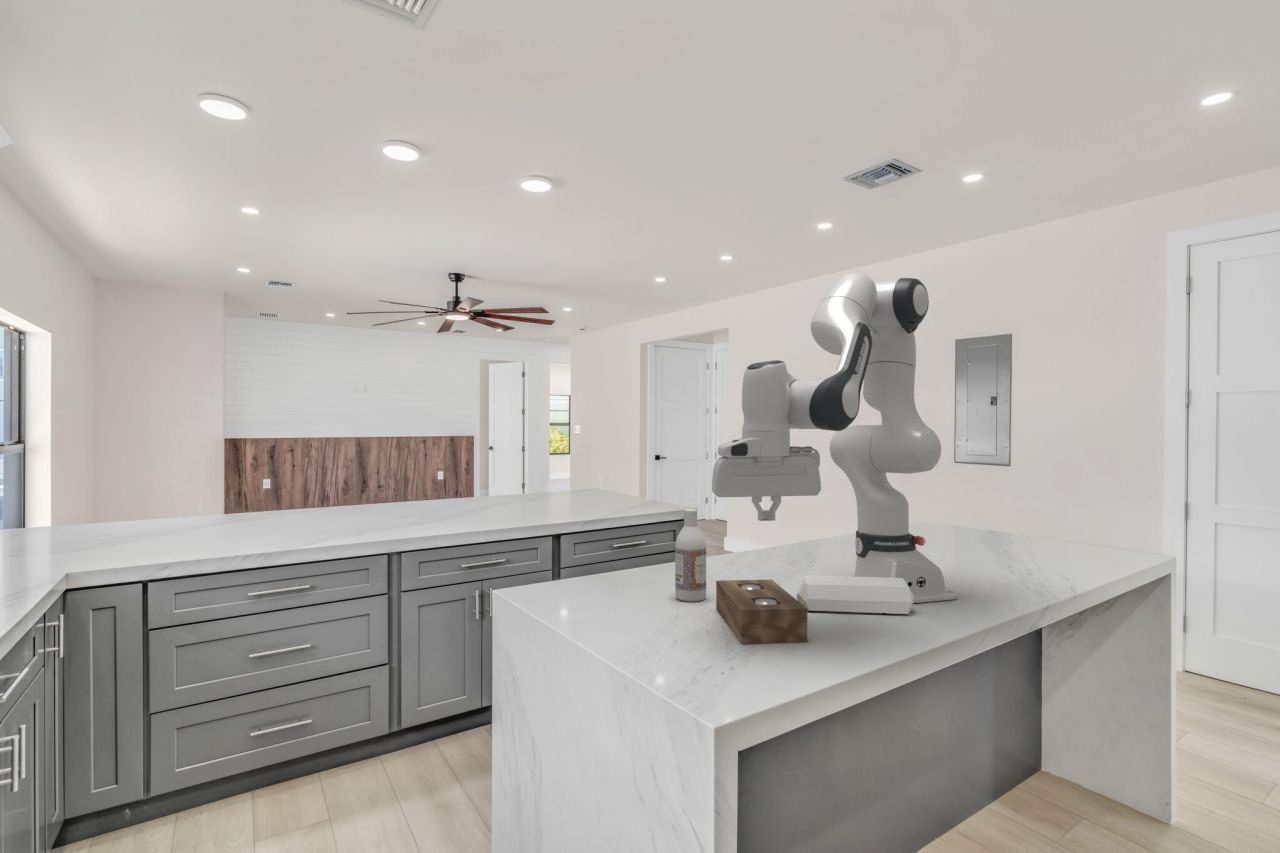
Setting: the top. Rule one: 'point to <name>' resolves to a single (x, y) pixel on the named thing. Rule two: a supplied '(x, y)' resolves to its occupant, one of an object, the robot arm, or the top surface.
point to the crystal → (855, 594)
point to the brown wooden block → (761, 612)
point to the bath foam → (690, 560)
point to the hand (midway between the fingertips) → (766, 520)
